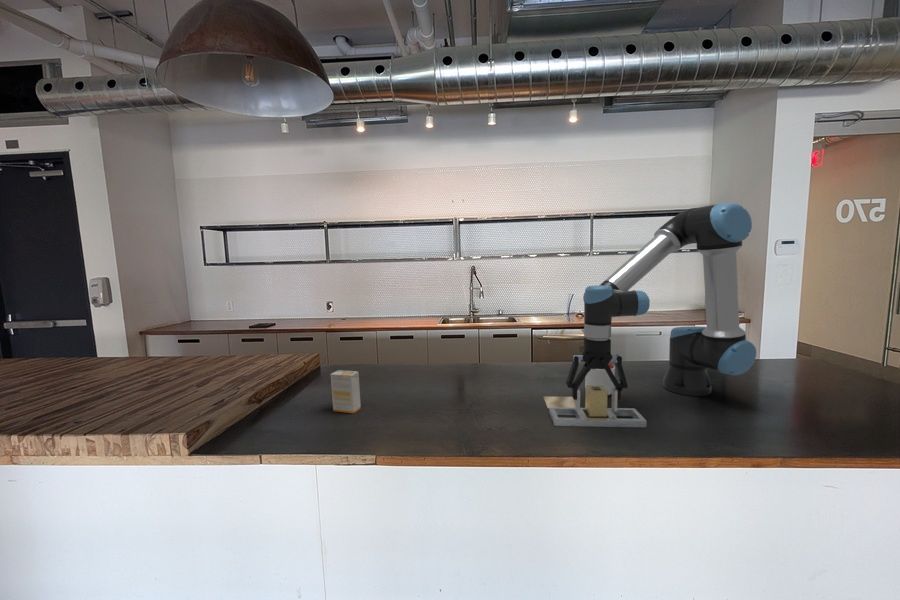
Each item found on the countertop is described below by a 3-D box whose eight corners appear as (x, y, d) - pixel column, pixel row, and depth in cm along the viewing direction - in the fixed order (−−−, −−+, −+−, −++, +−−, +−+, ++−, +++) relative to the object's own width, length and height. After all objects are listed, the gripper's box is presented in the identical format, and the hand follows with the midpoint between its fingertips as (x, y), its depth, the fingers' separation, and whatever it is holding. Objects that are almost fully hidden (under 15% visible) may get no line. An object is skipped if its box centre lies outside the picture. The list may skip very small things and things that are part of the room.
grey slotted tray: (634, 414, 119) (634, 408, 118) (646, 427, 110) (646, 420, 109) (549, 413, 121) (549, 407, 121) (554, 425, 112) (554, 419, 112)
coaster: (572, 397, 133) (572, 396, 133) (579, 409, 124) (579, 408, 123) (543, 397, 134) (543, 396, 134) (547, 408, 125) (547, 407, 124)
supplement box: (361, 408, 129) (359, 371, 127) (353, 414, 124) (351, 375, 123) (340, 405, 132) (338, 369, 130) (332, 411, 127) (329, 373, 126)
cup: (617, 397, 132) (618, 370, 131) (587, 396, 134) (587, 369, 133) (611, 388, 142) (611, 362, 141) (583, 386, 144) (583, 361, 143)
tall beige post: (601, 416, 118) (602, 385, 116) (606, 423, 113) (607, 390, 111) (585, 416, 118) (585, 384, 117) (589, 423, 113) (590, 390, 112)
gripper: (632, 334, 115) (630, 405, 118) (555, 335, 117) (555, 404, 120) (642, 340, 108) (639, 415, 110) (560, 340, 110) (560, 414, 112)
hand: (595, 409), depth 115 cm, fingers open, 10 cm apart
